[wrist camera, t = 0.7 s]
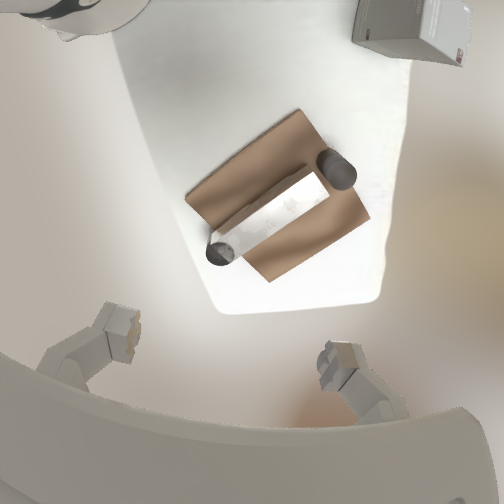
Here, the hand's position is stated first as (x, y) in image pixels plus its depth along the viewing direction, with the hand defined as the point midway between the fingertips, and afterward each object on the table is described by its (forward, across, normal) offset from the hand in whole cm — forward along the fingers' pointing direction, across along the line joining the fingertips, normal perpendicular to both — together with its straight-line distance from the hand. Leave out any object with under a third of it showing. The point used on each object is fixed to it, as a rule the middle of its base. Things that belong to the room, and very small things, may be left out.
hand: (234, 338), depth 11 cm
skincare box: (+29, -13, -26) cm, 41 cm away
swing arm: (+28, -4, +5) cm, 29 cm away
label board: (+31, -7, +4) cm, 32 cm away
